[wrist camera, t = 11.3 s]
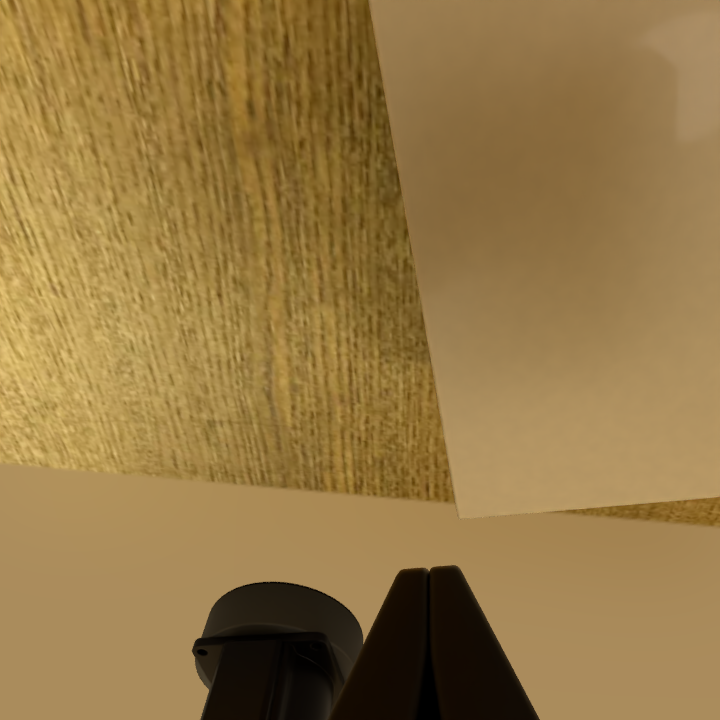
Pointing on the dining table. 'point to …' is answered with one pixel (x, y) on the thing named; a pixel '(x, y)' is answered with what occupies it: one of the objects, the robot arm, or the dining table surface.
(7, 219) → the dining table surface
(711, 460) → the lid
